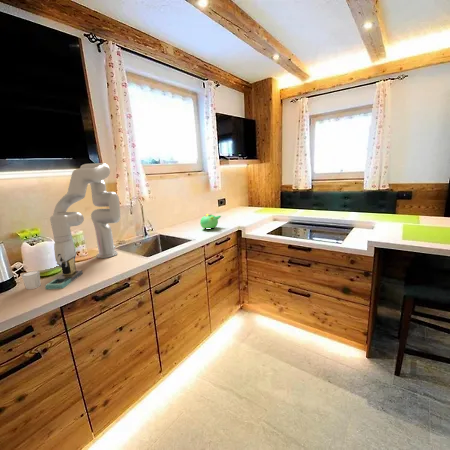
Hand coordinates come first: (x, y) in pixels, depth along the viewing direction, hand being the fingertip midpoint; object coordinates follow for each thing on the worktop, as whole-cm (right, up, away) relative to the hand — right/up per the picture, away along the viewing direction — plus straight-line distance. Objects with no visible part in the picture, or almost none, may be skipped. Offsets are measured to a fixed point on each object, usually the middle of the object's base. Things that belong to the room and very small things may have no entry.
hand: (69, 271), depth 123 cm
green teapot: (+68, +20, +98) cm, 121 cm away
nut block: (0, -3, +1) cm, 3 cm away
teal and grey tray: (0, -4, -4) cm, 6 cm away
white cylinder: (-12, -6, -9) cm, 16 cm away
